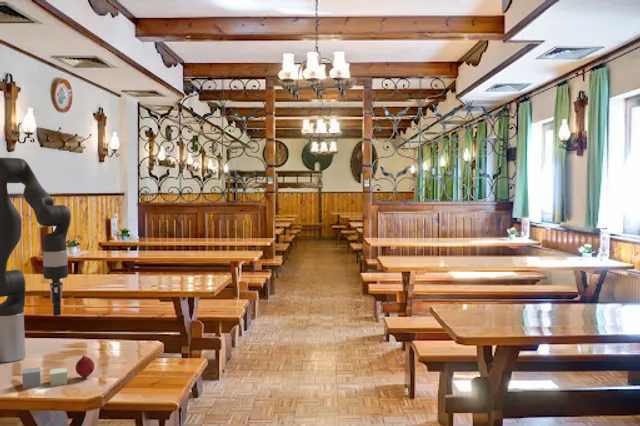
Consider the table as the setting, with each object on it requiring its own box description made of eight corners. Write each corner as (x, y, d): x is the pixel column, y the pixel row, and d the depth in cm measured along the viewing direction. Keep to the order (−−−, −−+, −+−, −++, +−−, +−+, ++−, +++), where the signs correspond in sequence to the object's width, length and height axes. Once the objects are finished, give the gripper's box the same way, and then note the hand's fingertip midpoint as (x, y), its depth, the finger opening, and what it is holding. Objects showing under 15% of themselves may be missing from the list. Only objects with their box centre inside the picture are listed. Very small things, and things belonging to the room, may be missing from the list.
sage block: (50, 386, 182) (50, 374, 182) (51, 381, 187) (50, 369, 186) (67, 384, 184) (66, 372, 184) (67, 379, 189) (67, 367, 188)
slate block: (22, 389, 180) (22, 373, 179) (23, 384, 184) (23, 369, 184) (40, 386, 182) (39, 371, 181) (40, 381, 186) (40, 366, 186)
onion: (98, 375, 191) (97, 352, 191) (86, 381, 186) (85, 357, 185) (84, 374, 193) (83, 351, 192) (72, 379, 187) (71, 356, 187)
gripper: (43, 262, 195) (45, 310, 196) (42, 267, 182) (44, 319, 183) (67, 260, 198) (69, 308, 199) (67, 266, 185) (69, 317, 186)
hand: (57, 313), depth 191 cm, fingers open, 4 cm apart
